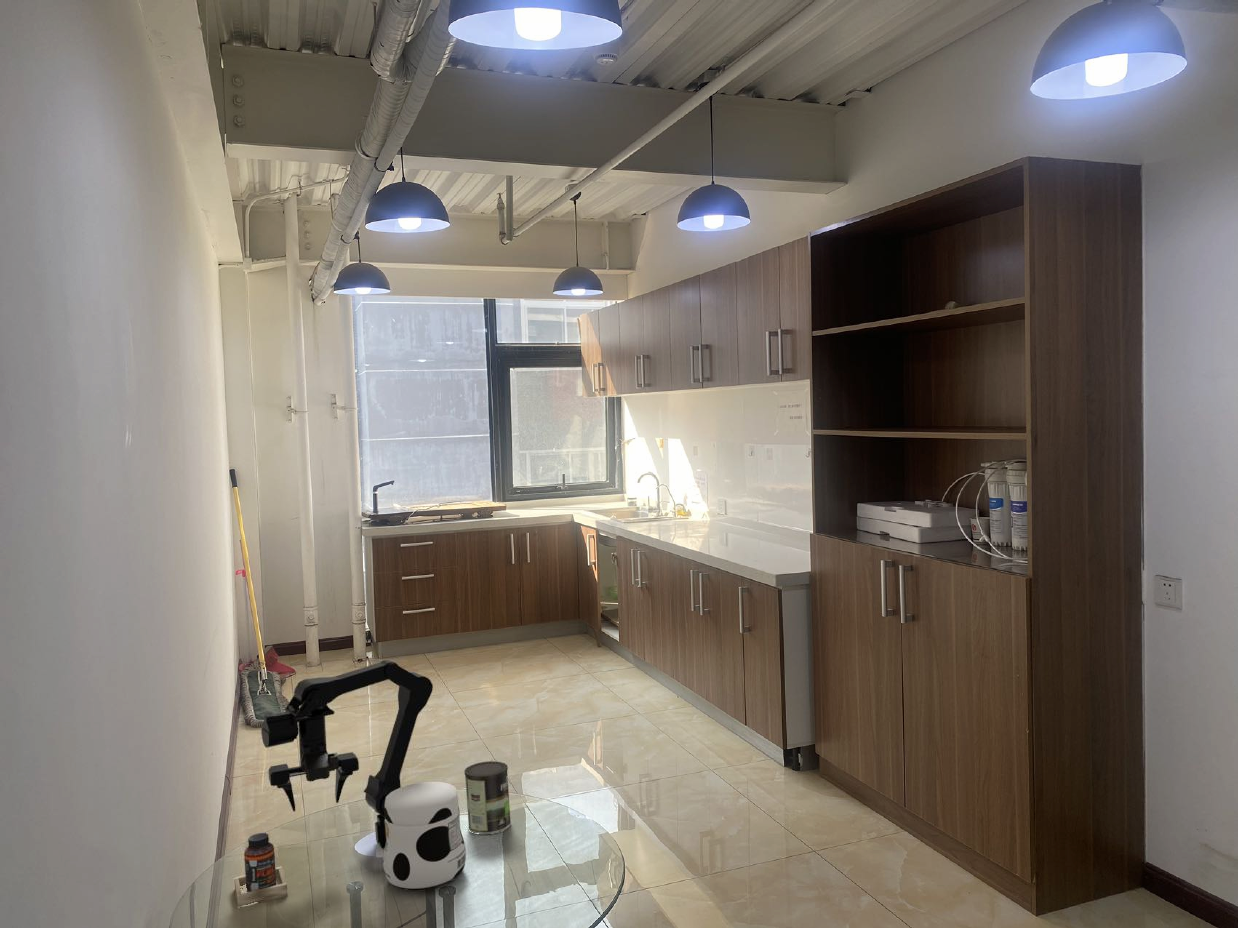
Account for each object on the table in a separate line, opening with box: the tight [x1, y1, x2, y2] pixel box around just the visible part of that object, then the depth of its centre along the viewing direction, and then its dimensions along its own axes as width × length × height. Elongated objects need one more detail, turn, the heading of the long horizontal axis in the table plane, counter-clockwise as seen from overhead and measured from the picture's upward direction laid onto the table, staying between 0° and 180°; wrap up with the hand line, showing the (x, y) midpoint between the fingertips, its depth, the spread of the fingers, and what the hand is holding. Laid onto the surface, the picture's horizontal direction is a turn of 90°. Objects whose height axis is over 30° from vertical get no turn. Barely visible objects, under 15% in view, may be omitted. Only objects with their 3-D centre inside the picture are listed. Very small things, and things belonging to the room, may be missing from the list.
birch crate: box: [233, 865, 289, 908], centre depth 195 cm, size 10×10×2 cm
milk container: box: [382, 781, 467, 892], centre depth 197 cm, size 17×17×18 cm
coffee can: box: [464, 760, 512, 836], centre depth 222 cm, size 10×10×14 cm
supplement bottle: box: [243, 832, 276, 892], centre depth 195 cm, size 6×6×11 cm
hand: (315, 806), depth 207 cm, fingers open, 9 cm apart
